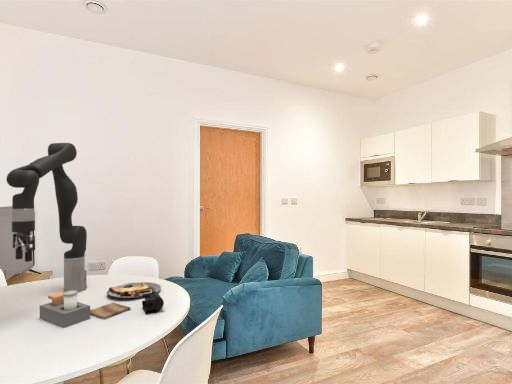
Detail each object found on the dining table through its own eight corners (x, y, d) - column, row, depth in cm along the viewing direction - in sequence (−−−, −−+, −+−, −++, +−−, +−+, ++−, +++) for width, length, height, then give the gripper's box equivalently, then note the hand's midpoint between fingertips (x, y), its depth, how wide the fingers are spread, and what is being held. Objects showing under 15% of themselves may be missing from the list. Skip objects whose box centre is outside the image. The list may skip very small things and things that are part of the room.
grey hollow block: (65, 309, 132) (65, 298, 132) (90, 318, 123) (90, 305, 123) (39, 318, 124) (39, 305, 124) (64, 327, 115) (64, 314, 115)
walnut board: (112, 304, 138) (112, 302, 138) (130, 309, 132) (130, 307, 132) (86, 313, 128) (86, 311, 128) (104, 319, 122) (104, 317, 122)
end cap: (163, 312, 130) (163, 295, 130) (146, 315, 126) (146, 298, 126) (158, 304, 138) (158, 289, 139) (141, 307, 135) (141, 292, 135)
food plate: (113, 304, 138) (114, 296, 138) (101, 292, 156) (101, 285, 156) (167, 294, 154) (167, 287, 154) (150, 284, 172) (150, 278, 172)
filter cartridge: (73, 316, 125) (73, 289, 125) (80, 319, 122) (80, 291, 122) (60, 321, 121) (60, 292, 121) (67, 323, 118) (67, 294, 118)
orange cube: (61, 303, 130) (61, 291, 130) (68, 305, 127) (68, 293, 127) (47, 307, 125) (47, 295, 125) (54, 309, 123) (54, 297, 123)
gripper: (42, 219, 124) (42, 260, 124) (26, 218, 131) (26, 256, 131) (20, 221, 117) (20, 264, 117) (4, 219, 125) (5, 260, 125)
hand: (23, 260), depth 124 cm, fingers open, 8 cm apart
